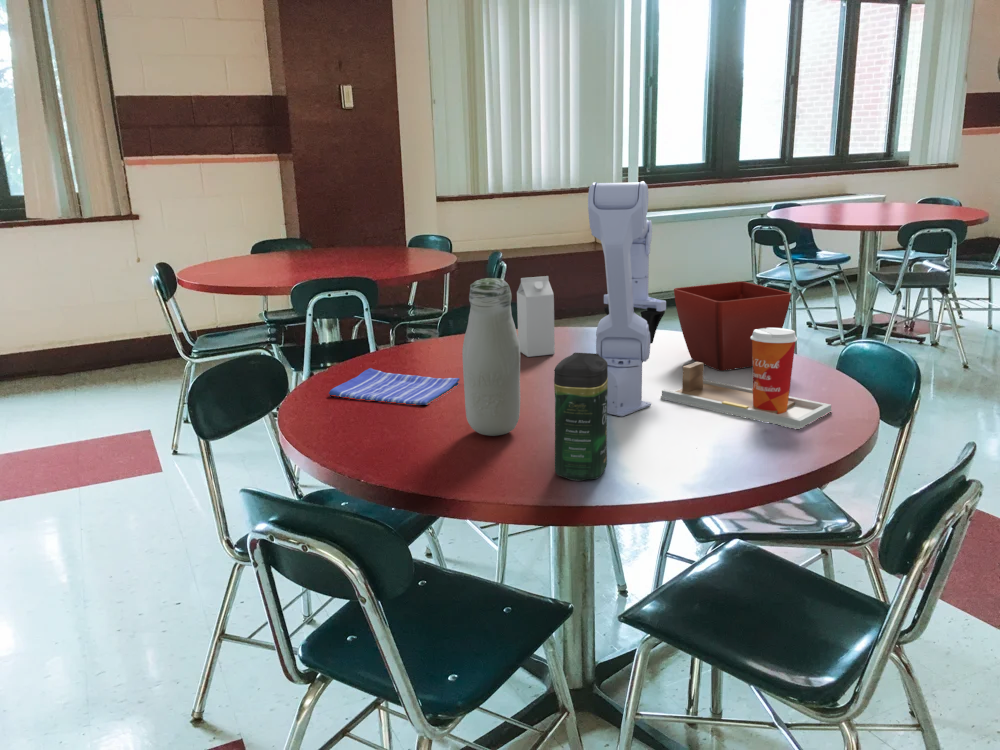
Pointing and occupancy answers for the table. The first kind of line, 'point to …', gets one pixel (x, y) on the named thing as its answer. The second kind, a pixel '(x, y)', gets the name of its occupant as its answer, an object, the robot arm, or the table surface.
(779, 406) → the coffee cup
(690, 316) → the plant pot
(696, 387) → the wooden l-shaped board
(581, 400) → the coffee jar
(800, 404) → the board
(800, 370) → the table surface
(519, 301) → the milk carton
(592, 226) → the robot arm
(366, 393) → the dish towel
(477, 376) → the glass bottle
